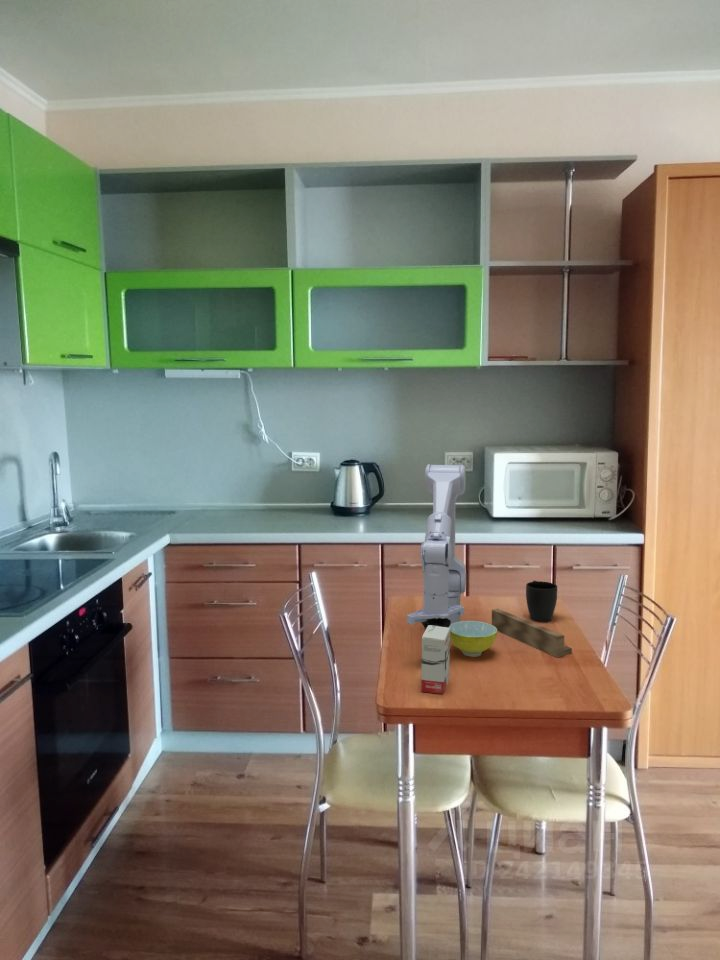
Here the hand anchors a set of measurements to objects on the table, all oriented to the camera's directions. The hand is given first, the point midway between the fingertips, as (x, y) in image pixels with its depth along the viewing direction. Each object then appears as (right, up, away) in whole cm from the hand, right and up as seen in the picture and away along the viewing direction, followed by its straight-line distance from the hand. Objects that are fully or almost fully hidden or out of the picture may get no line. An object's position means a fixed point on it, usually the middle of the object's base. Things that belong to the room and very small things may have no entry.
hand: (435, 649), depth 160 cm
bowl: (+9, -2, +5) cm, 11 cm away
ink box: (-1, -5, -13) cm, 14 cm away
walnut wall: (+25, -1, +14) cm, 29 cm away
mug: (+32, +1, +32) cm, 46 cm away
